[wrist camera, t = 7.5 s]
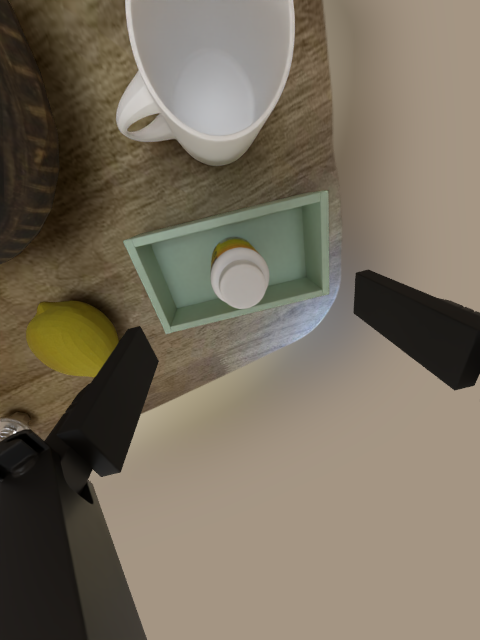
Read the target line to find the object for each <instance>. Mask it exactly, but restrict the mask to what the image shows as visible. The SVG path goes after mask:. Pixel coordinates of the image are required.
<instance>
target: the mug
mask: <svg viewBox="0 0 480 640" xmlns="http://www.w3.org/2000/svg"><path fill="white" fill-rule="evenodd" d="M125 10H126V20H127V28H128V34H129V39H130V44H131V48H132V51H133V55H134V58H135V61H136V64H137V67H138V69H139V70H138V72H137V73H136V75H135V76H134V78H133V79H132V81H131V82H130V84H129V85H128V87H127V88H126V90H125V92H124V94H123V95H122V97H121V100H120V102H119V105H118V109H117V113H116V122H117V126H118V128H119V130H120V132H121V133H122V134H123V135H125V136H126V137H128V138H130V139H133V140H136V141H142V142H157V141H164V140H170V139H176V140H177V141H178V142H179V143H180V144H181V146H182V147H183V148H184V149H185V150H186V151H187V153H188V154H189V155H191V156H192V157H193V158H194V159H196V160H198V161H199V162H202V163H204V164H207V165H211V166H223V165H227V164H230V163H232V162H234V161H236V160H237V159H239V158H240V157H241V156H242V155H243V154H244V153H245V152H246V151H247V150H248V148H249V147H250V146H251V144H252V143H253V141H254V139H255V138H256V136H257V135H258V133H259V131H260V130H261V128H262V127H263V125H264V123H265V122H266V120H267V119H268V117H269V115H270V114H271V112H272V111H273V109H274V107H275V106H276V104H277V102H278V100H279V98H280V96H281V94H282V92H283V89H284V87H285V84H286V81H287V78H288V75H289V71H290V67H291V62H292V57H293V49H294V37H295V16H294V5H293V0H125ZM158 113H159V115H158V116H157V117H156V118H155V119H154V120H153V121H152V122H151V123H150V124H149V125H147V126H146V127H144V128H143V129H141V130H138V131H135V132H129V131H127V129H128V127H129V126H130V125H131V124H133V123H134V122H136V121H138V120H140V119H142V118H144V117H147V116H149V115H153V114H158Z"/></svg>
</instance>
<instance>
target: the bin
mask: <svg viewBox="0 0 480 640" xmlns="http://www.w3.org/2000/svg"><path fill="white" fill-rule="evenodd" d="M228 237H240V238H243V239H245V240H247V241H248V242H249V243H250V244H251V245H252V246H253V247H254V248H255V250H256V251H257V252H258V253H259V254H260V255H261V256H262V257H263V259H264V260H265V262H266V264H267V266H268V269H269V283H268V287H267V289H266V291H265V294H264V296H263V298H262V299H261V301H260V302H259V303H257V304H256V305H254V306H252V307H250V308H246V309H238V308H234V307H232V306H230V305H228V304H227V303H225V302H224V301H222V300H221V299H220V298H219V297H218V296H217V295H216V294H215V292H214V290H213V288H212V285H211V279H210V274H211V258H212V253H213V250H214V248H215V247H216V245H217V244H218V243H219V242H220V241H222V240H223V239H226V238H228ZM123 242H124V245H125V247H126V249H127V251H128V253H129V255H130V257H131V260H132V262H133V264H134V266H135V268H136V270H137V273H138V275H139V277H140V279H141V281H142V283H143V285H144V288H145V290H146V292H147V294H148V296H149V298H150V300H151V303H152V305H153V307H154V309H155V311H156V313H157V316H158V318H159V320H160V322H161V324H162V326H163V328H164V331H165V333H166V334H168V333H172V332H176V331H180V330H184V329H188V328H192V327H196V326H200V325H204V324H209V323H213V322H217V321H221V320H225V319H229V318H233V317H237V316H241V315H245V314H250V313H254V312H258V311H262V310H266V309H270V308H274V307H278V306H282V305H286V304H291V303H295V302H299V301H303V300H307V299H311V298H315V297H319V296H322V295H323V296H324V295H328V294H329V205H328V190H324V191H316V192H308V193H303V194H299V195H295V196H291V197H287V198H283V199H279V200H275V201H271V202H267V203H263V204H259V205H254V206H250V207H246V208H242V209H238V210H234V211H230V212H226V213H222V214H218V215H214V216H210V217H206V218H202V219H198V220H194V221H190V222H186V223H182V224H178V225H174V226H170V227H166V228H162V229H158V230H154V231H150V232H146V233H142V234H139V235H136V236H134V237H131V238H129V239H126V240H124V241H123Z"/></svg>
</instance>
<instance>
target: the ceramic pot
mask: <svg viewBox="0 0 480 640" xmlns="http://www.w3.org/2000/svg"><path fill="white" fill-rule="evenodd" d="M58 174H59V146H58V133H57V129H56V126H55V122H54V119H53V115H52V112H51V108H50V105H49V101H48V98H47V94H46V91H45V87H44V84H43V80H42V77H41V73H40V71H39V68H38V66H37V64H36V61H35V59H34V57H33V54H32V52H31V50H30V47H29V45H28V43H27V40H26V38H25V36H24V33H23V31H22V29H21V26H20V24H19V22H18V19H17V17H16V15H15V12H14V10H13V8H12V6H11V4H10V3H9V1H8V0H0V264H2V263H4V262H6V261H9V260H11V259H12V258H14V257H15V256H17V255H18V254H20V253H21V252H22V251H23V250H24V249H25V248H26V247H27V245H28V244H29V243H30V242H31V241H32V240H33V239H34V238H35V237H36V236H37V234H38V233H39V232H40V230H41V228H42V226H43V224H44V222H45V220H46V218H47V216H48V214H49V212H50V210H51V208H52V205H53V199H54V194H55V189H56V184H57V179H58Z"/></svg>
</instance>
